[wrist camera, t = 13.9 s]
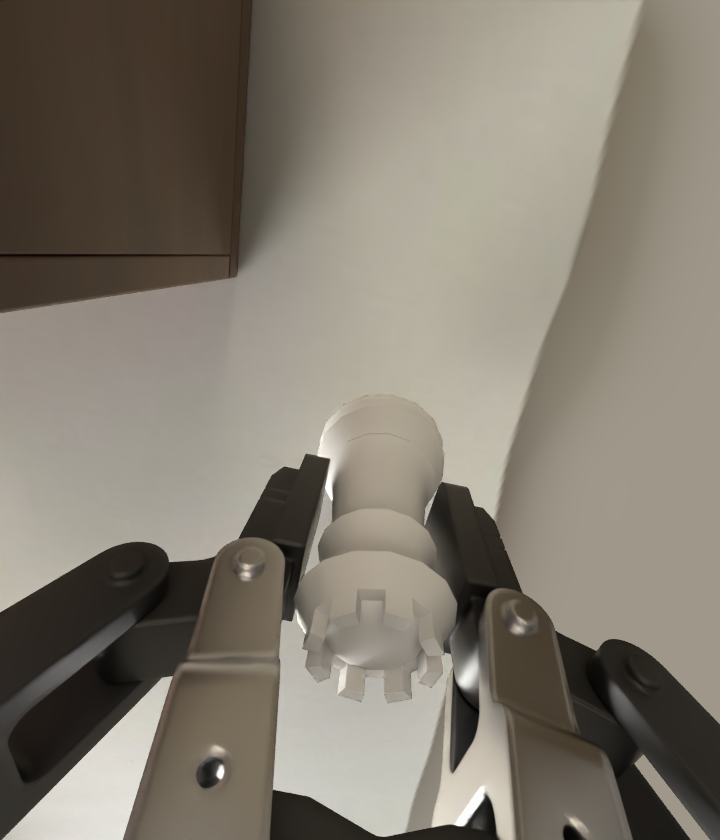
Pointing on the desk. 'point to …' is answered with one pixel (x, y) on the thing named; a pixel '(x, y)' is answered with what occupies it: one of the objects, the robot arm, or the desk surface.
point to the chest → (119, 146)
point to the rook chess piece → (378, 553)
